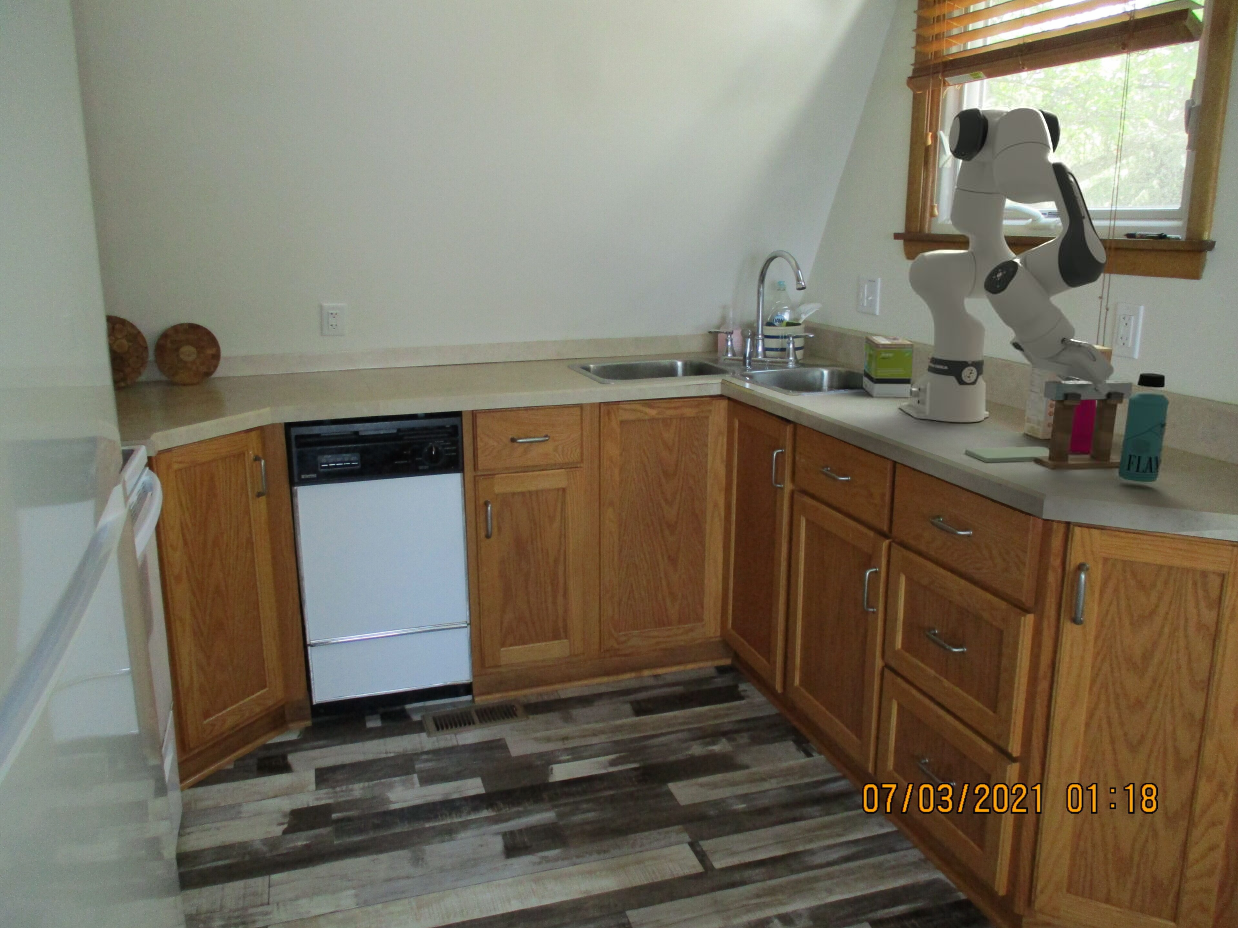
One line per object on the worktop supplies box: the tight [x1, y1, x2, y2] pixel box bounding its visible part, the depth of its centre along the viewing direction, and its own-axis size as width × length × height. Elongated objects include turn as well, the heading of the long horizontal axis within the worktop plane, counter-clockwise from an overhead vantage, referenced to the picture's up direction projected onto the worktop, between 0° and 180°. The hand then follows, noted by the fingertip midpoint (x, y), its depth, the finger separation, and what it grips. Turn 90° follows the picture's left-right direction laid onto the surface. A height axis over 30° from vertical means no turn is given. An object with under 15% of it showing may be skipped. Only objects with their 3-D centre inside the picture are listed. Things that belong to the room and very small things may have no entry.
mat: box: [964, 446, 1050, 463], centre depth 195 cm, size 8×17×1 cm, turn 101°
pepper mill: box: [1069, 379, 1096, 455], centre depth 198 cm, size 7×7×20 cm
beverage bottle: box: [1117, 372, 1170, 483], centre depth 171 cm, size 6×7×20 cm
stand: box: [1033, 393, 1124, 470], centre depth 187 cm, size 6×15×14 cm, turn 101°
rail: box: [1044, 379, 1133, 400], centre depth 185 cm, size 4×16×3 cm, turn 101°
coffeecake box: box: [1023, 344, 1114, 440], centre depth 213 cm, size 15×7×20 cm, turn 102°
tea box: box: [862, 335, 914, 398], centre depth 265 cm, size 15×10×15 cm, turn 178°
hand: (1088, 387), depth 185 cm, fingers open, 8 cm apart
